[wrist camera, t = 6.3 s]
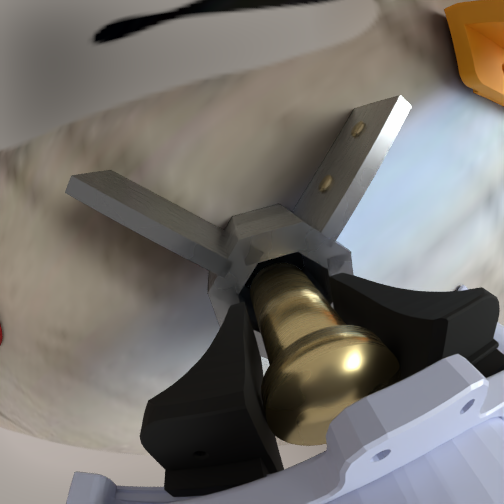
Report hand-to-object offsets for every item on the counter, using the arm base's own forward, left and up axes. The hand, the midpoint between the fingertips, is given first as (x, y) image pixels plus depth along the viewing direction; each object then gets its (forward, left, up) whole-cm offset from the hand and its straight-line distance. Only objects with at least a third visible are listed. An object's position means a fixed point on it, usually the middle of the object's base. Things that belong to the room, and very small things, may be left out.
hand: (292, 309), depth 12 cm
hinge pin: (0, 0, -2) cm, 3 cm away
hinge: (+4, -3, -6) cm, 8 cm away
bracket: (-6, -26, -6) cm, 27 cm away
